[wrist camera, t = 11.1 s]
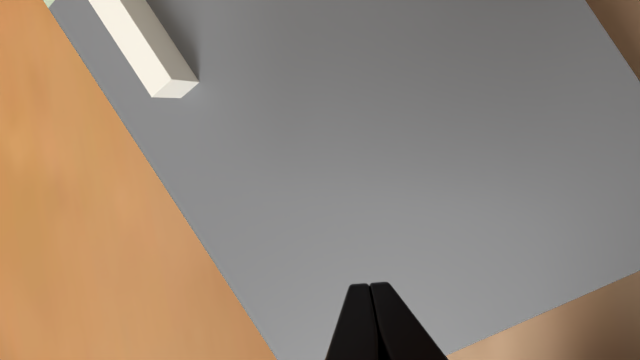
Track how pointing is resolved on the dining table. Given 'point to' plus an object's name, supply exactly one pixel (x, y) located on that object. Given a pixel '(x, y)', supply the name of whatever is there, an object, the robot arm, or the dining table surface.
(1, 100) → the dining table surface
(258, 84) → the platform
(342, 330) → the robot arm
